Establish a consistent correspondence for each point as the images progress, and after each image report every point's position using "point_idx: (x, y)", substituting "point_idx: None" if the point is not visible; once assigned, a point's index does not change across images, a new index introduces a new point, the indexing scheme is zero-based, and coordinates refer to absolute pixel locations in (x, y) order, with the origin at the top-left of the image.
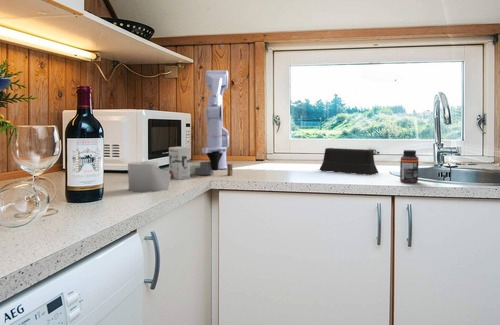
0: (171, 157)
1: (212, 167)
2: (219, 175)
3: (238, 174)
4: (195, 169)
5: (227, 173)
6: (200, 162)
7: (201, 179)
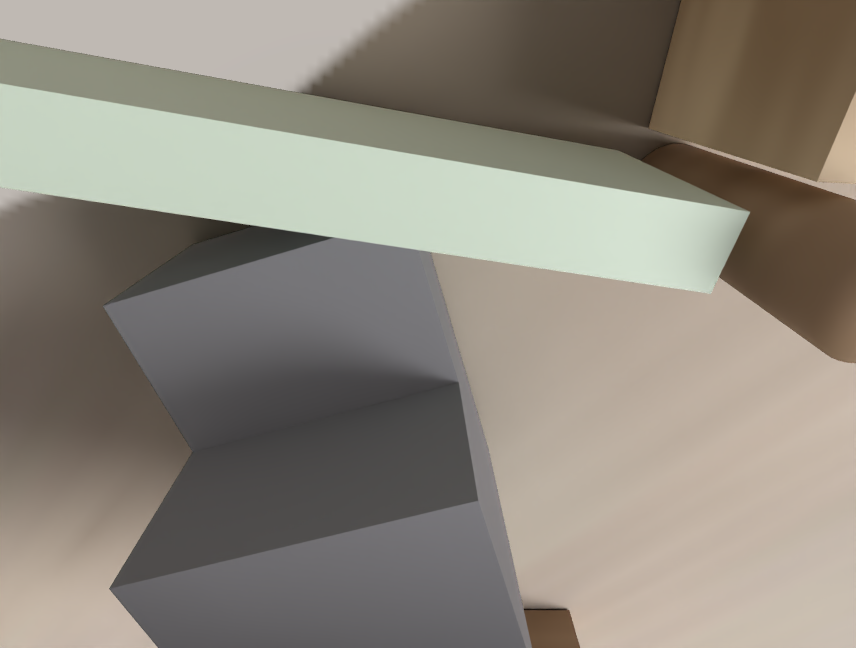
0: None
1: None
2: None
3: (683, 627)
4: (132, 287)
5: None
6: (123, 593)
7: (10, 642)
